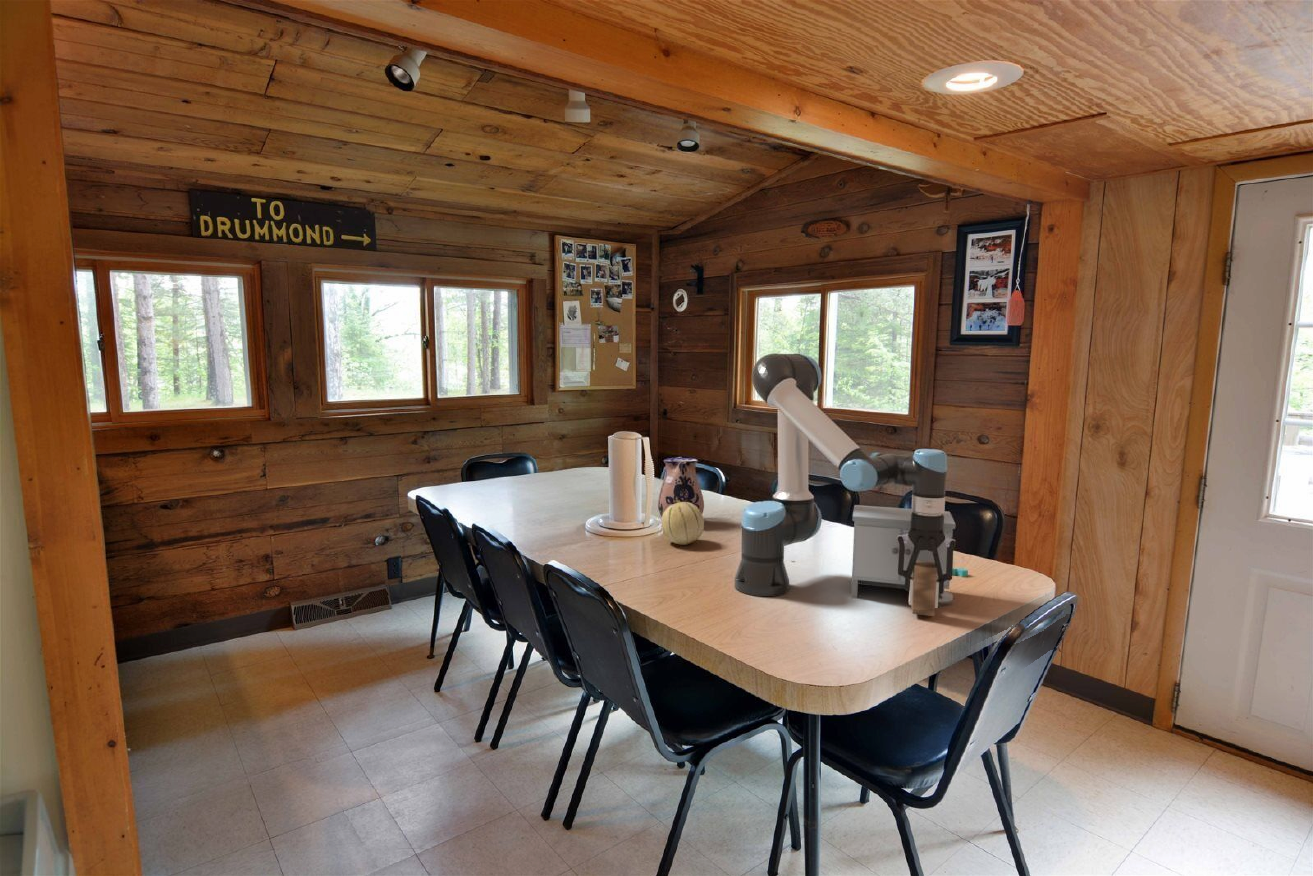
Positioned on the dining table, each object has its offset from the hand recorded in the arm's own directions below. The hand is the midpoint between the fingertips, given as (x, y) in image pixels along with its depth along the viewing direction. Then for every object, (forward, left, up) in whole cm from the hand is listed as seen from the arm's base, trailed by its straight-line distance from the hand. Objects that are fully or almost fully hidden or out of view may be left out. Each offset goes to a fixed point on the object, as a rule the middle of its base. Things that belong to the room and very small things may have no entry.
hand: (922, 604), depth 170 cm
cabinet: (-5, +15, -3) cm, 16 cm away
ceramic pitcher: (-83, +72, -3) cm, 110 cm away
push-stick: (0, +8, -2) cm, 8 cm away
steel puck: (+5, +13, -3) cm, 14 cm away
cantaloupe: (-74, +44, -3) cm, 87 cm away
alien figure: (+1, +40, -4) cm, 40 cm away
